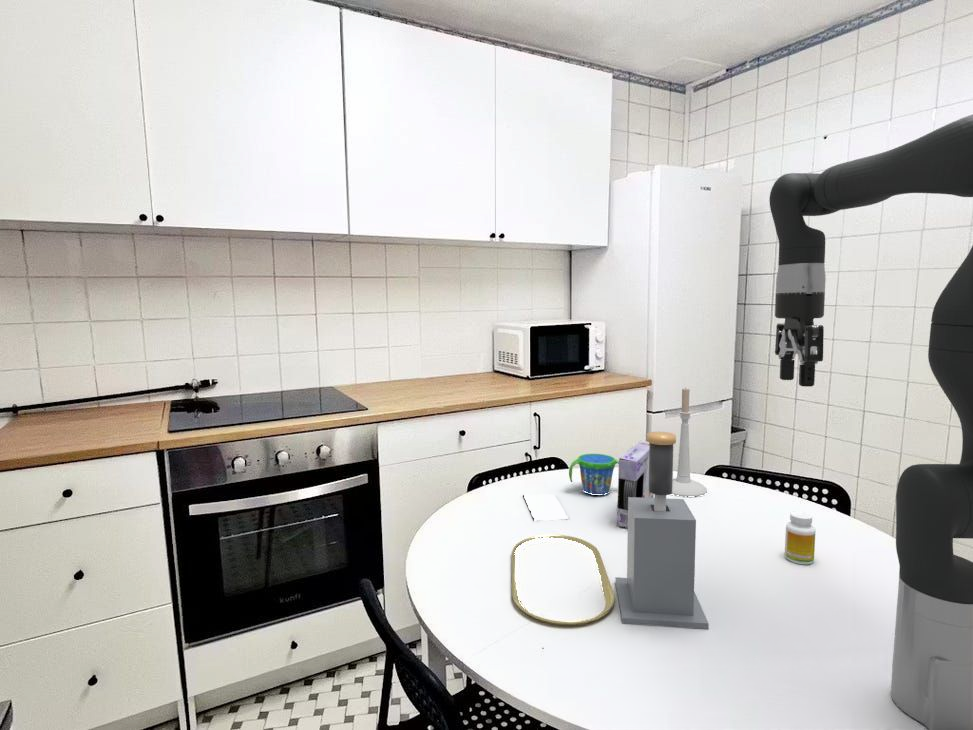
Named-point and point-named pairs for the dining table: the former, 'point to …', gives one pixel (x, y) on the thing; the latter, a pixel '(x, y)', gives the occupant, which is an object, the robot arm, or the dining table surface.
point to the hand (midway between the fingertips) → (796, 382)
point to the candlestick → (685, 457)
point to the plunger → (660, 466)
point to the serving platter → (604, 578)
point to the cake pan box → (632, 479)
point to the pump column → (660, 567)
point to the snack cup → (595, 472)
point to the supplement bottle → (800, 539)
